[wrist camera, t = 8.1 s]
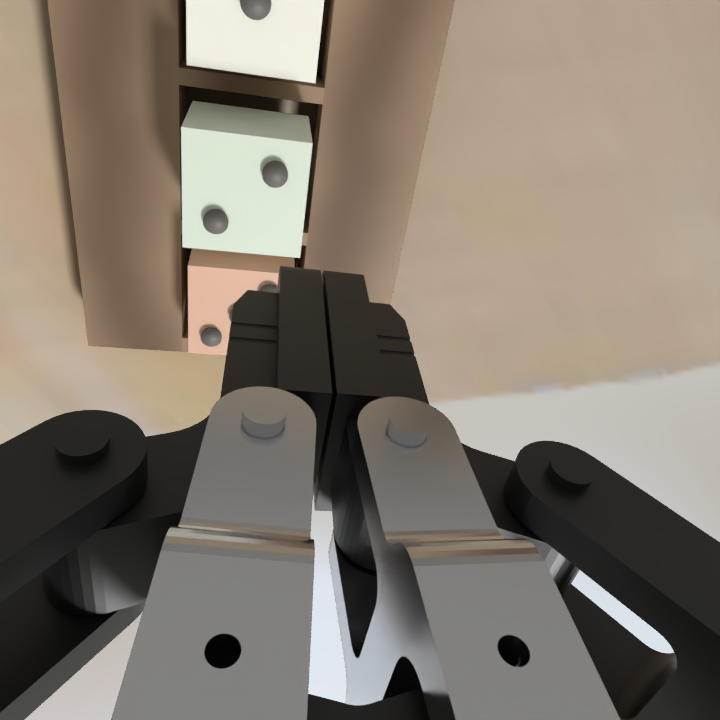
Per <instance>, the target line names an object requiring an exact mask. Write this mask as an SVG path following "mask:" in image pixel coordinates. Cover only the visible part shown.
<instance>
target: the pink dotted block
mask: <svg viewBox="0 0 720 720" xmlns="http://www.w3.org/2000/svg"><path fill="white" fill-rule="evenodd" d="M280 266H288V267H295V260H294V258H293V257H282V256H272V255H261V254H250V253H239V252H228V251H217V250H206V249H195V248H192V251H191V255H190V259H189V263H188V353H200V354H216V355H227V348H228V340H229V333H230V326H231V319H232V312H233V304H234V303H235V302H236V301H237V300H238V299H239V298H240V297H241V296H242V295H243V294H244V293H245V292H246V291H247V290H254V291H264V292H274V293H277V285H278V276H279V269H280Z"/></svg>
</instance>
